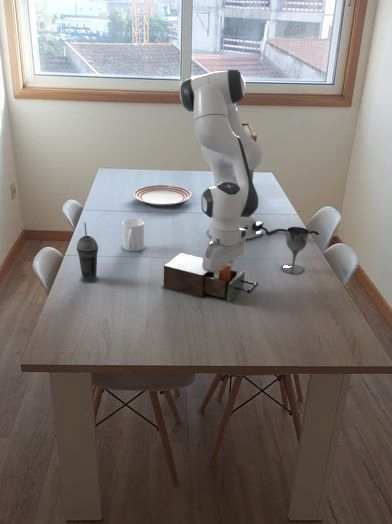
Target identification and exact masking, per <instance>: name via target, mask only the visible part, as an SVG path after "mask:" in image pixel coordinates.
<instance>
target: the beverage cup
mask: <svg viewBox="0 0 392 524" xmlns="http://www.w3.org/2000/svg"><path fill="white" fill-rule="evenodd" d="M83 226H84V227H83V228H84V235H83V236H82V237H80V238H79V239H78V241H77V243H76V251H77V255H78V259H79V265H80V271H81V277H82V281H84V282H87V283H93V282H95V281H96V279H97V271H98V270H97V268H98V267H97V266H98V254H99V253H98V252H99V245H98V243H97V240H96V239H95V237H93V236H90V235H88V232H87V222H83Z"/></svg>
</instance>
